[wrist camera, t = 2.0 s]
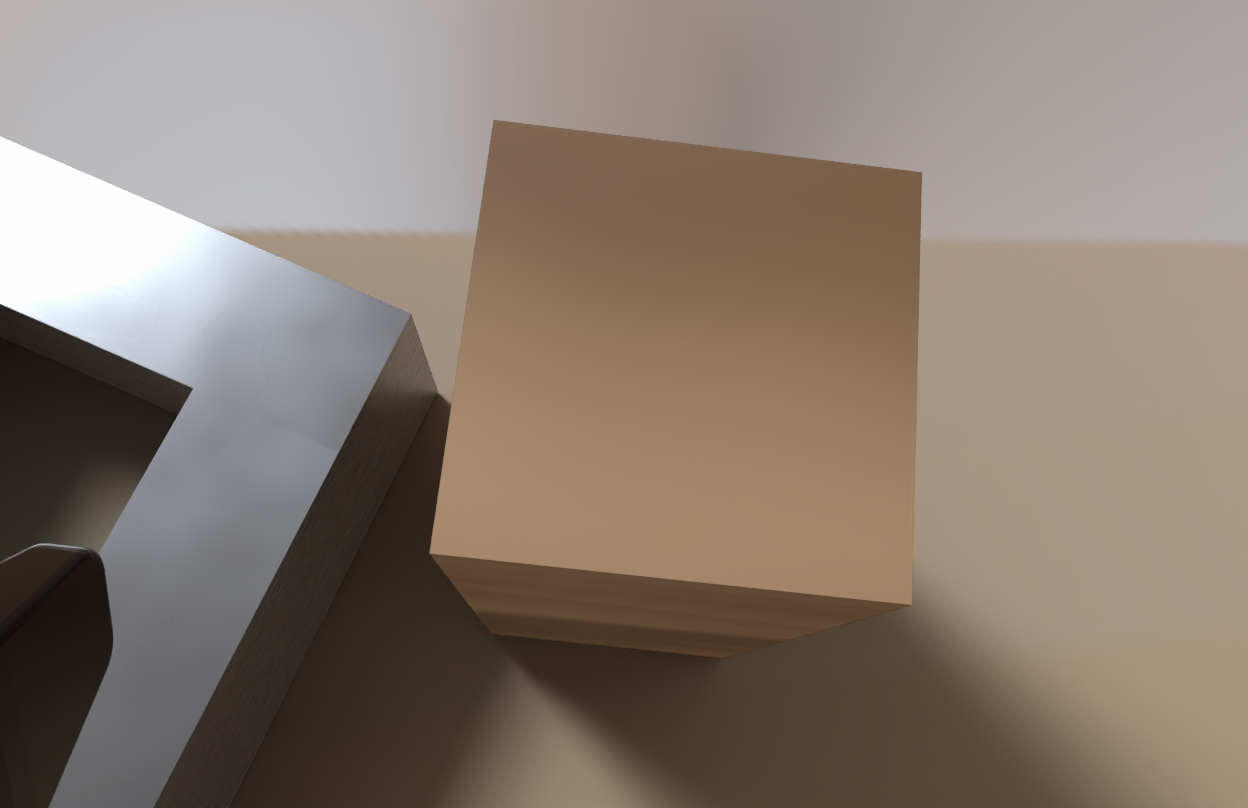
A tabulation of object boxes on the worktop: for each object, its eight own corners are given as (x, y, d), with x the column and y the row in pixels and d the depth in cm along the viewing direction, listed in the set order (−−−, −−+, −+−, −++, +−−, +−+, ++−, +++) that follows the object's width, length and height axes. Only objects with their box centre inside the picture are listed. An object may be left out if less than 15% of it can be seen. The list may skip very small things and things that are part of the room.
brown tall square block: (723, 658, 19) (910, 605, 9) (491, 634, 18) (430, 553, 9) (739, 434, 20) (922, 172, 10) (520, 410, 19) (493, 119, 10)
